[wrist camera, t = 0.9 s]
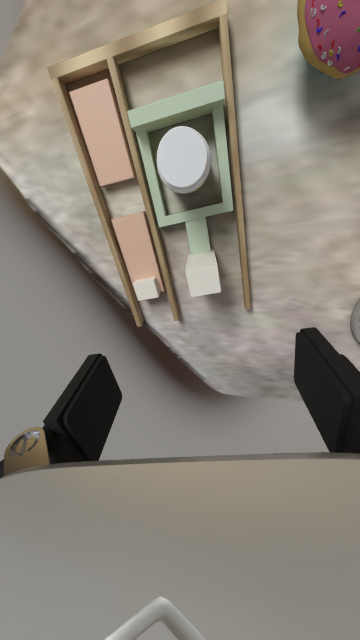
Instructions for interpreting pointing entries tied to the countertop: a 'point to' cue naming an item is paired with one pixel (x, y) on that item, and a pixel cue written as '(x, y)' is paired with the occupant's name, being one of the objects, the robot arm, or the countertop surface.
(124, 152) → the broken strip
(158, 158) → the supplement bottle
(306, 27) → the cupcake
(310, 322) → the countertop surface
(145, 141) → the green handled square frame
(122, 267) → the lane rails
